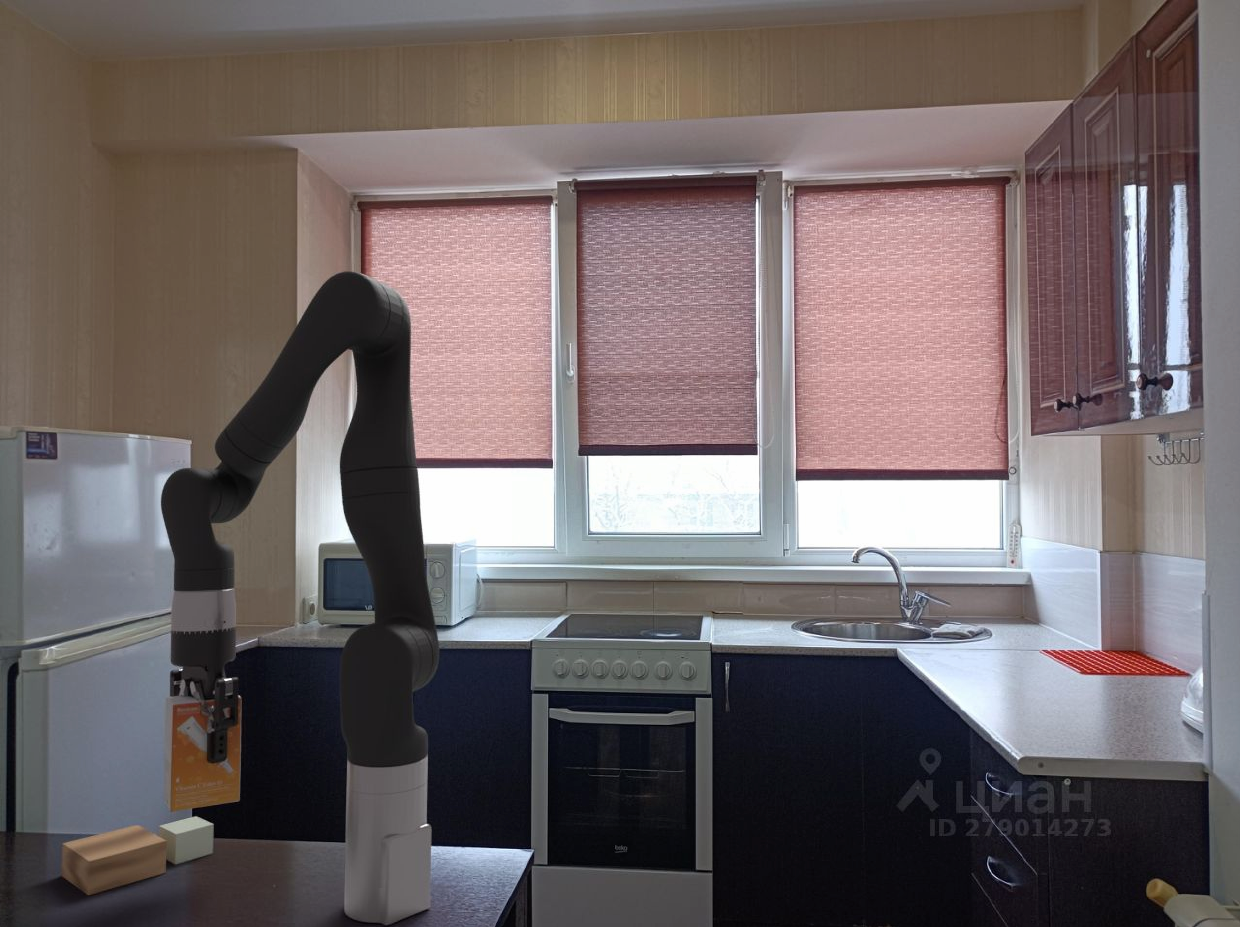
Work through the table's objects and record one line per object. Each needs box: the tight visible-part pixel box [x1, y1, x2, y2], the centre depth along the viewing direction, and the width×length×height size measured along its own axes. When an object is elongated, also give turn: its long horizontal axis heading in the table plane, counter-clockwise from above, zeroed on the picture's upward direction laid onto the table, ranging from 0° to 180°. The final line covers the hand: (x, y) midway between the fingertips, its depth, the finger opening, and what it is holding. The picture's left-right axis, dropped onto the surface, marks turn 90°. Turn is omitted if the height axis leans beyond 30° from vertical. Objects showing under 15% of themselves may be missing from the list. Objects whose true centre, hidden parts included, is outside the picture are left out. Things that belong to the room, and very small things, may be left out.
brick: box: [158, 815, 215, 865], centre depth 121 cm, size 5×5×4 cm
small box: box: [163, 695, 242, 813], centre depth 113 cm, size 8×6×13 cm
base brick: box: [60, 824, 167, 896], centre depth 114 cm, size 9×9×4 cm
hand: (202, 756), depth 113 cm, fingers closed on small box, 7 cm apart
